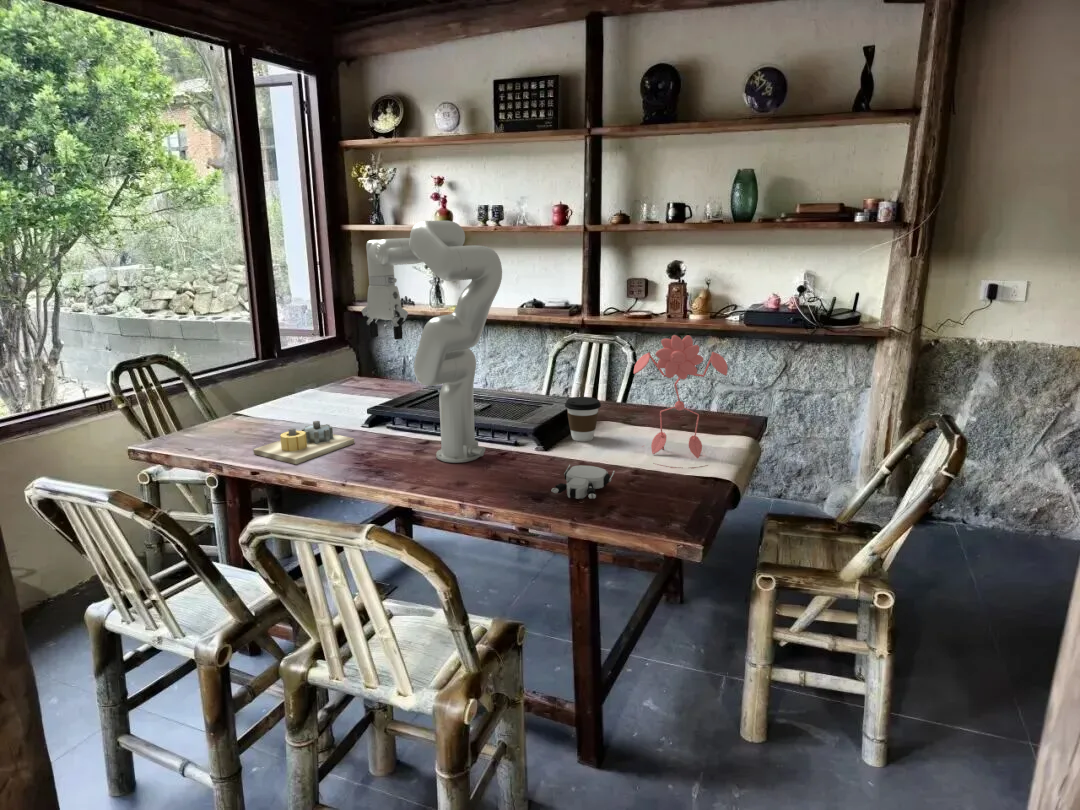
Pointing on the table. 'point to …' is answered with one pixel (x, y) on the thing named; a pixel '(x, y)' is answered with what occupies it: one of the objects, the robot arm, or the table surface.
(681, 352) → the dancing flower figure
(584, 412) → the coffee cup
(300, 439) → the ochre gear
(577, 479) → the robot toy
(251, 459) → the table surface
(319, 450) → the gear board
